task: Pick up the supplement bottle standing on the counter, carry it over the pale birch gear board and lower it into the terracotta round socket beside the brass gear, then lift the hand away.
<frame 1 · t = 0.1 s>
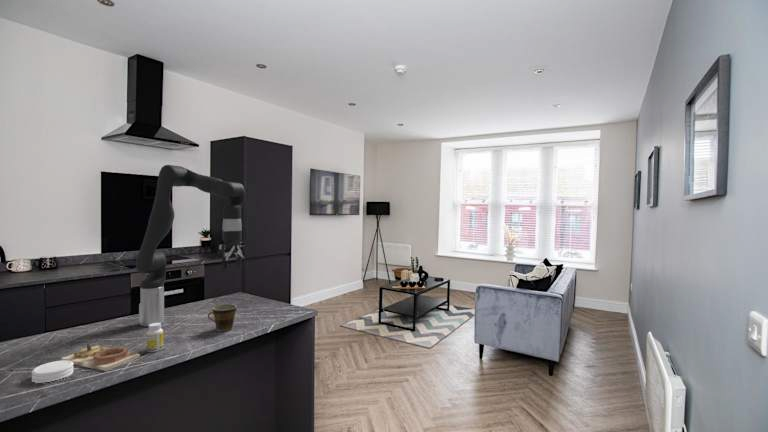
hand: (232, 267, 154), 29 cm above the counter, tool pointing down, fingers open, 8 cm apart
gear board: (101, 359, 130), on the counter
ceramic cup: (221, 330, 162), on the counter
coaster: (53, 377, 117), on the counter
supplement bottle: (155, 350, 139), on the counter
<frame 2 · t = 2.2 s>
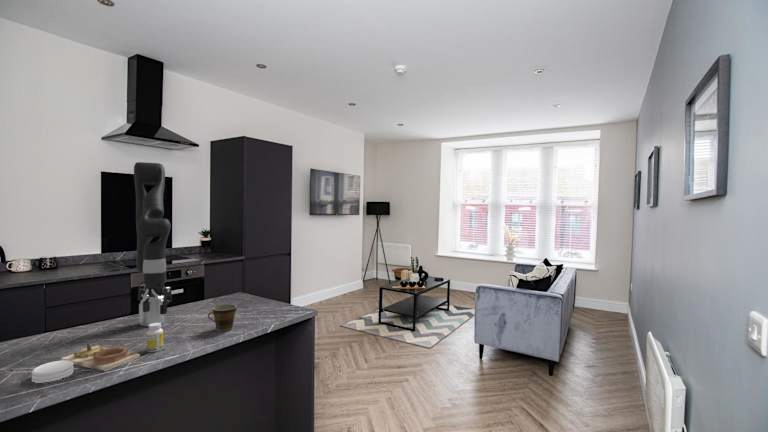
hand: (154, 312, 139), 14 cm above the counter, tool pointing down, fingers open, 8 cm apart
nothing on the counter moved.
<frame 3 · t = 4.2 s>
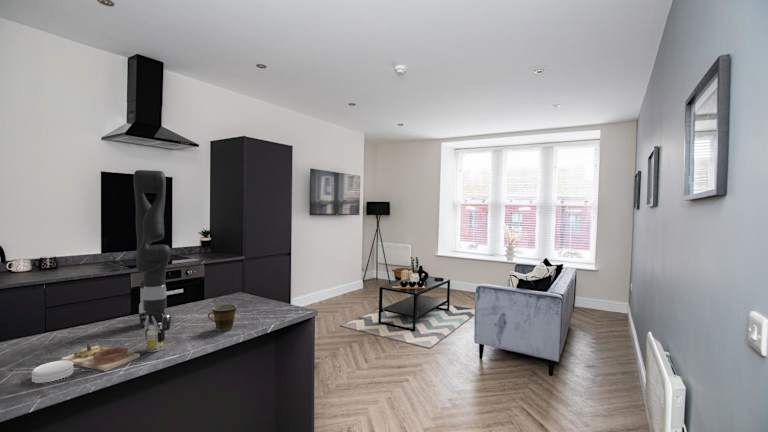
hand: (155, 340, 139), 3 cm above the counter, tool pointing down, fingers closed on supplement bottle, 5 cm apart
supplement bottle: (155, 350, 139), on the counter, touching gripper
everything else where it was.
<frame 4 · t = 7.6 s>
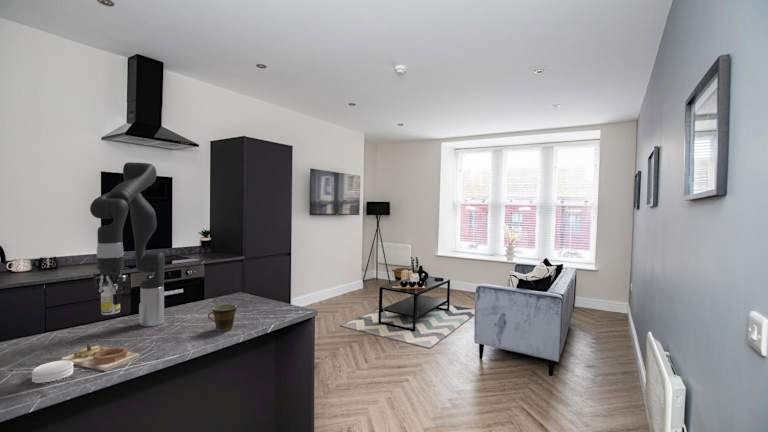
hand: (110, 303, 128), 21 cm above the counter, tool pointing down, fingers closed on supplement bottle, 5 cm apart
supplement bottle: (110, 313, 128), point 17 cm above the counter, touching gripper
everything else where it was.
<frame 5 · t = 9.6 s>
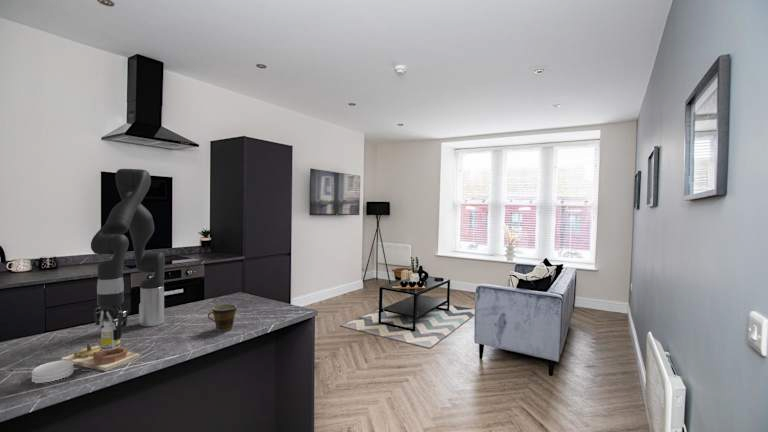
hand: (110, 338, 128), 8 cm above the counter, tool pointing down, fingers closed on supplement bottle, 5 cm apart
supplement bottle: (110, 348, 128), point 5 cm above the counter, touching gripper
everything else where it was.
when the fingers open (6 cm above the counter, at t = 11.2 s): supplement bottle stays where it is, resting on gear board.
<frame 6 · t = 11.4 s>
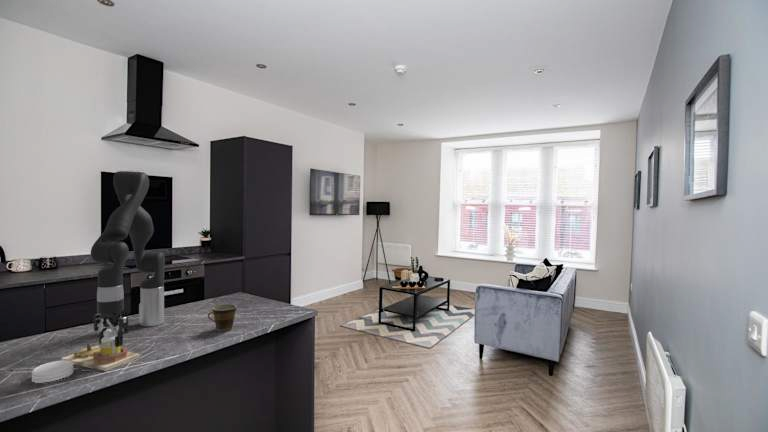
hand: (110, 344, 128), 6 cm above the counter, tool pointing down, fingers open, 7 cm apart
supplement bottle: (111, 358, 129), point 1 cm above the counter, touching gear board
everything else where it was.
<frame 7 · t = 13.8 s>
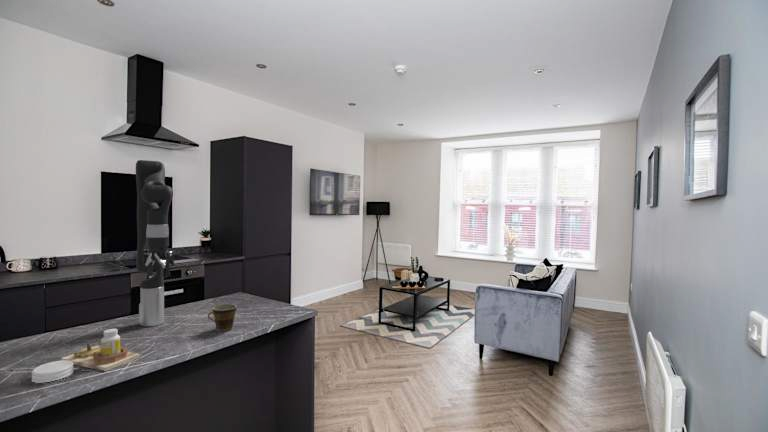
hand: (157, 276, 144), 27 cm above the counter, tool pointing down, fingers open, 8 cm apart
nothing on the counter moved.
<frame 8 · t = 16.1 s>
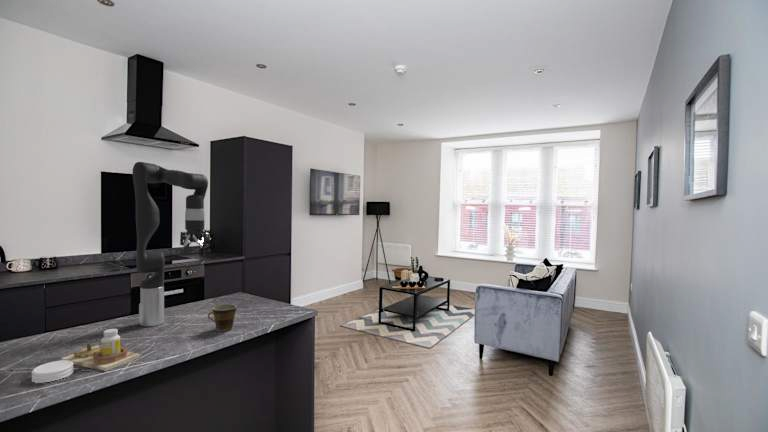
hand: (194, 255, 160), 33 cm above the counter, tool pointing down, fingers open, 8 cm apart
nothing on the counter moved.
at the end: supplement bottle 0.1 cm from the target spot on the gear board, point 1.0 cm above the gear board's base; supplement bottle tilted 0°; the gripper is holding nothing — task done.
